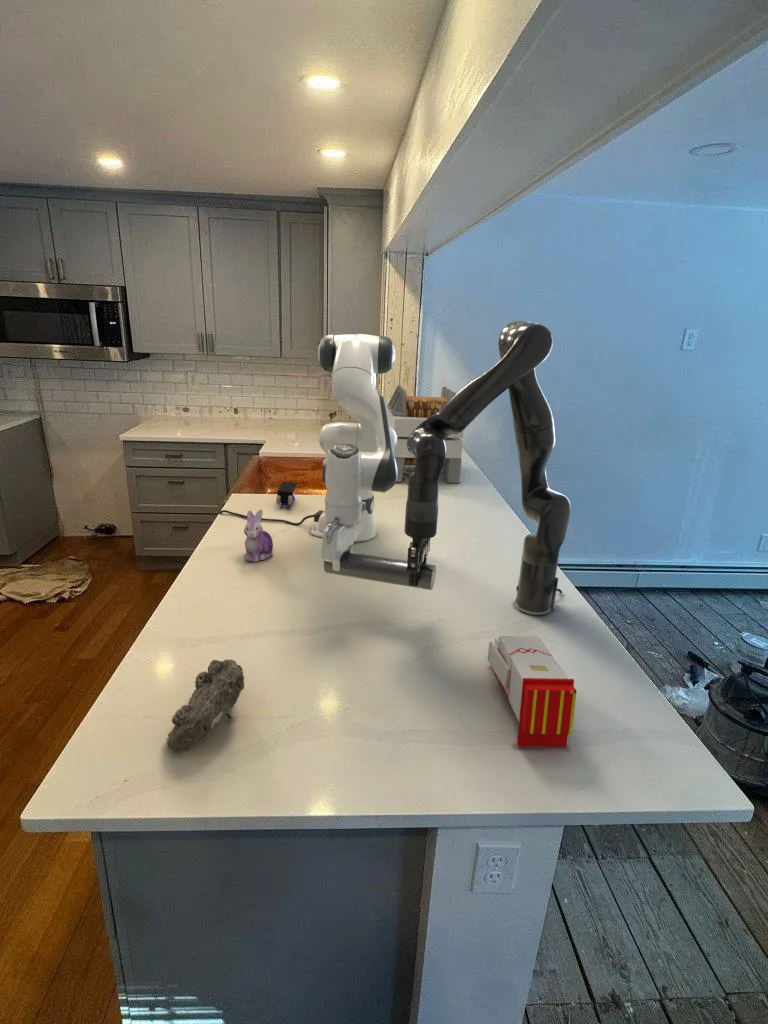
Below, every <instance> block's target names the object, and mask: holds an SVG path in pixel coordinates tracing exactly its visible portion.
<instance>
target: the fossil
mask: <svg viewBox="0 0 768 1024" xmlns="http://www.w3.org/2000/svg"><path fill="white" fill-rule="evenodd" d="M243 670H244V669H243V667H242V665H240V664H237V662H236V661H235V660H234V659H232V658H231V659H227V658H226V659H224V660H223V661H222V660H217V659H212V660H211V661H210V663H209V665H208V666H207V671H201V672H199V673H198V674H197V675H196V676H195V680H194V684H195V685H194V687H195V689H194V690H193V693H192V694H191V697H190V698H189V700H188V704H184V705H182V706H181V707H180V709H177V710H176V711H175V713H174V715H173V716H172V718H171V723H172V724H173V727H172V730H171V731H170V732H168V734H167V738H166V741H167V742H166V745H167V749H168V750H169V751H173V752H174V753H176V754H178V753H182V752H188V751H189V752H192V751H193V750H195V748H196V747H197V746H199V744H200V743H201V742H203V741H204V740H205V739H206V738H207V737H208V736H209V735H210V734H211V733H212V732H214V730H215V729H217V727H218V726H219V724H220V722H221V721H222V720H223V719H224V718H225V716H226V717H227V719H229V720H233V717H232V715H230V714H229V710H230V709H231V708H234V706H235V704H236V703H237V702H238V699H239V697H240V695H241V693H242V691H243V690H245V689H244V688H245V675H244V671H243Z"/></svg>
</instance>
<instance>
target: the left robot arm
mask: <svg viewBox="0 0 768 1024" xmlns="http://www.w3.org/2000/svg"><path fill="white" fill-rule="evenodd" d="M317 359H318V362H319V365H320V368H322V369H323V371H325V372H329V373H331V393H332V398H333V399H334V401H335V402H336V403H337V405H339V406H340V408H342V410H343V412H344V413H346V415H348V416H349V417H351V418H353V419H355V420H356V421H357V422H348V421H336V422H330V423H325V424H324V425H323V426H322V427H321V429H320V431H319V434H318V442H319V446H320V448H321V450H322V451H323V452H324V453H325V454H327V456H326V457H325V458H324V459H323V461H322V483H323V484H324V485H325V488H326V493H325V497H324V510H322V509H321V510H318V511H317V512H315V513H314V514H310V515H306V516H305V517H303V518H302V519H301V520H300V521H299V522H292V521H289V520H285V519H278V518H277V519H276V518H264V517H262V518H261V521H264V522H279V523H286V524H289V525H293V526H300V525H302V524H303V523H304V522H305V520H307V519H311V518H313V522H314V523H315V524H314V525H313V526H312V528H311V530H310V533H311V536H315V537H319V538H322V539H321V548H320V549H321V551H320V557H321V560H322V561H323V562H324V561H328V562H332V564H333V570H334V571H339V570H340V569H341V562H340V558H341V555H342V554H343V553H344V552H352V551H353V546H354V543H357V542H365V541H368V540H372V539H373V538H375V537H376V535H377V532H376V528H375V523H374V513H373V512H374V509H375V496H374V492H377V493H383V494H384V493H386V492H388V491H390V490H391V489H392V488H394V487H395V486H396V484H397V482H396V481H397V478H398V467H397V463H396V460H395V457H394V450H395V449H396V446H397V435H396V433H395V431H394V429H393V428H392V427H391V426H390V425H389V418H388V413H387V404H386V403H387V402H386V399H385V398H384V396H383V395H381V394H379V393H378V392H377V375H381V374H386V373H388V372H390V371H391V370H392V368H393V366H394V364H395V361H396V348H395V346H394V343H393V341H392V339H391V338H390V337H388V336H384V335H373V334H365V333H356V334H355V333H354V334H353V333H351V334H348V333H347V334H334V333H333V334H327V335H324V336H323V337H322V338H321V339H320V343H319V345H318V347H317ZM223 513H227V514H230V515H234V516H237V517H241V518H245V519H247V515H245V514H241V513H238V512H233V511H231V510H226V509H222V510H220V511H219V512H218V515H221V514H223Z"/></svg>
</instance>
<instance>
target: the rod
mask: <svg viewBox="0 0 768 1024" xmlns="http://www.w3.org/2000/svg"><path fill="white" fill-rule="evenodd" d="M340 562H341V569H340V570H339V571H334V570H333V564H332V562H328V561H323V570H324V573H326V574H331V575H337V576H343V577H349V578H356V579H361V580H367V581H373V582H380V583H384V584H391V585H398V586H404V587H410V588H414V589H415V588H416V589H421V590H427V591H432V590H433V589H434V586H435V582H436V575H437V566H436V565H435V564H428V563H426V564H423V563H421V565H420V571H419V582H418V586H410V585H409V572H407V570H406V569H407V560H405V559H404V560H403V559H397V558H390V557H383V556H377V555H371V554H365V553H358V552H352V551H351V552H344V553H343V554H342V555H341V558H340ZM412 566H413V567H415V563H412Z"/></svg>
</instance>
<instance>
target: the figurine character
mask: <svg viewBox="0 0 768 1024" xmlns="http://www.w3.org/2000/svg"><path fill="white" fill-rule="evenodd" d="M297 484H298V482H296V481H295V482H294V481H284V480H283V481H281V483H280V485H279V487H278V489H277V494H276V498H275V499H276V500H275V503H276V505H279V508H280V509H283V506H285V507H287V509H290V508H291V506H292V505H293V503H294V502H295V501H296V497H295V496H296V492H295V489H296V488H297Z"/></svg>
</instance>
